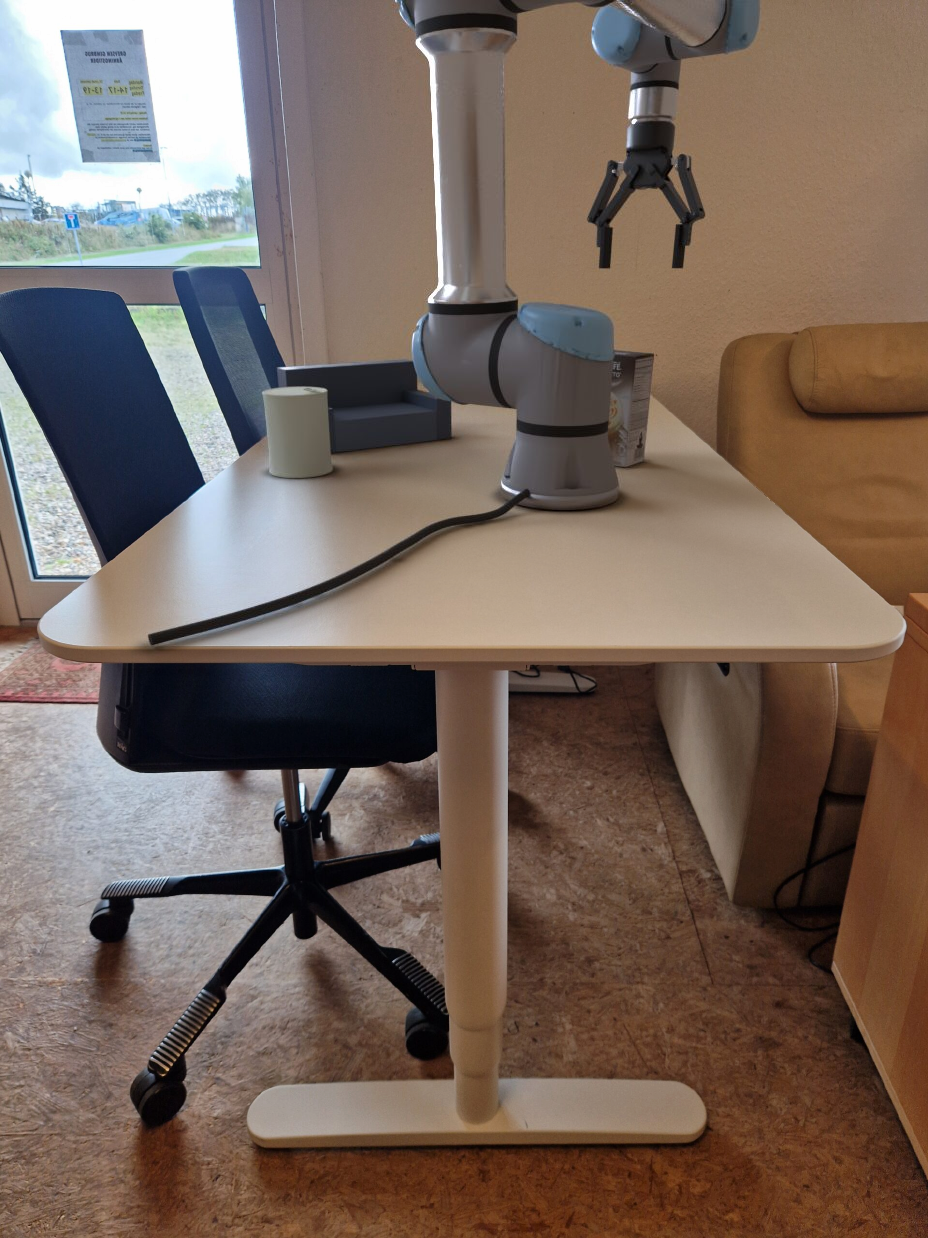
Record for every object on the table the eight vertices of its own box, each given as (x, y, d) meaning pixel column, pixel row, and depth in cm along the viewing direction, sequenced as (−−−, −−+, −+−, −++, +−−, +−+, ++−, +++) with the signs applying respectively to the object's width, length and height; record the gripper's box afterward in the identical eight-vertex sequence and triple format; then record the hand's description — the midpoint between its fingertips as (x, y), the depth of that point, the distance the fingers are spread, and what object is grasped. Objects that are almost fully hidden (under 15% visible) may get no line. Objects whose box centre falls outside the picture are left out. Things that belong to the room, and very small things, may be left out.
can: (314, 480, 115) (307, 392, 110) (257, 475, 118) (248, 390, 113) (343, 466, 123) (338, 384, 118) (289, 462, 126) (282, 381, 121)
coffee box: (573, 459, 127) (579, 351, 121) (595, 453, 132) (601, 348, 125) (626, 468, 122) (634, 355, 115) (646, 460, 126) (656, 351, 120)
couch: (451, 438, 143) (451, 367, 139) (318, 454, 131) (313, 377, 126) (408, 424, 156) (406, 358, 151) (283, 438, 144) (276, 367, 139)
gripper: (736, 117, 126) (719, 268, 134) (594, 133, 140) (587, 268, 148) (717, 110, 120) (700, 267, 128) (571, 127, 134) (565, 268, 143)
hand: (639, 268), depth 138 cm, fingers open, 13 cm apart
